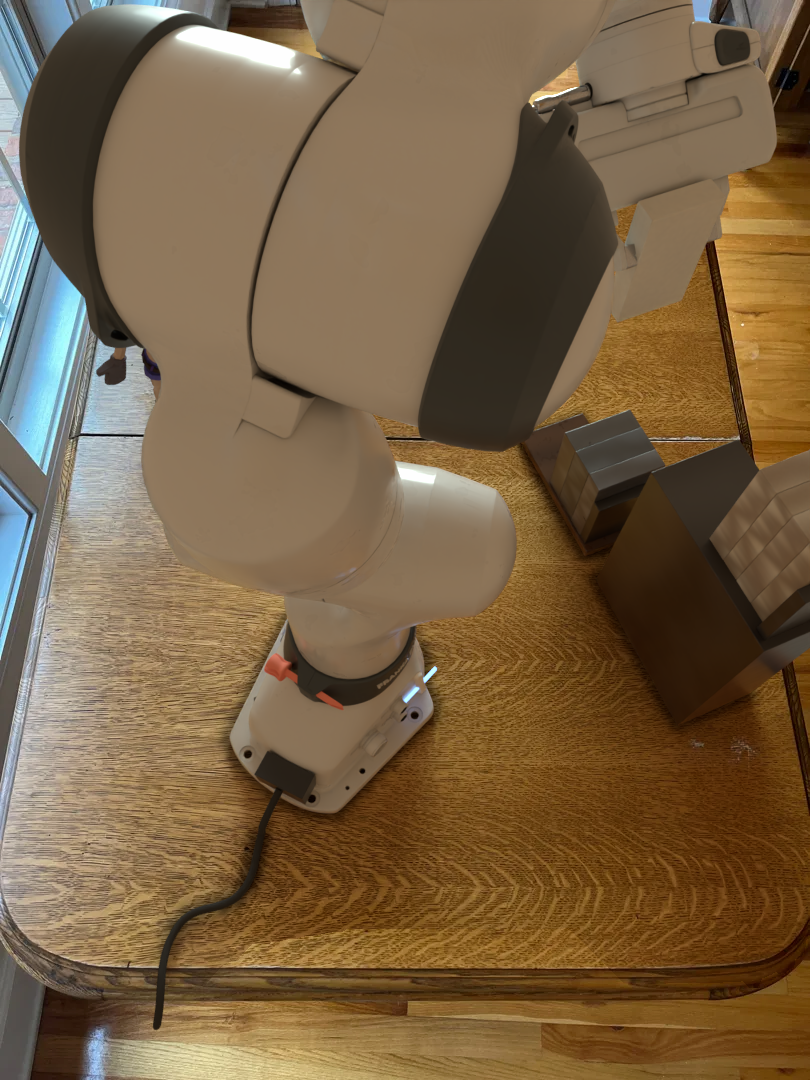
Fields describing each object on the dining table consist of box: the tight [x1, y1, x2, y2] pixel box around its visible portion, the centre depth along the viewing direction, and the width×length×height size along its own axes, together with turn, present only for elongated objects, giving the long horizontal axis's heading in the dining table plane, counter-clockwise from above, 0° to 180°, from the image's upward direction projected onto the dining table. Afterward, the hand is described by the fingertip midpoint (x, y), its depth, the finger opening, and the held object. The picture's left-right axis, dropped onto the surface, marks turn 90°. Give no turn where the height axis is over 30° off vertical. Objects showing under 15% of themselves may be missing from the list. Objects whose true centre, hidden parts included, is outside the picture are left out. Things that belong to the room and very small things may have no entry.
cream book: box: [611, 179, 726, 323], centre depth 71 cm, size 2×6×12 cm, turn 113°
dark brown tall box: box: [595, 439, 810, 726], centre depth 79 cm, size 18×9×36 cm, turn 23°
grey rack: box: [520, 409, 666, 557], centre depth 98 cm, size 17×8×12 cm, turn 23°
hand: (667, 255), depth 71 cm, fingers closed on cream book, 6 cm apart
